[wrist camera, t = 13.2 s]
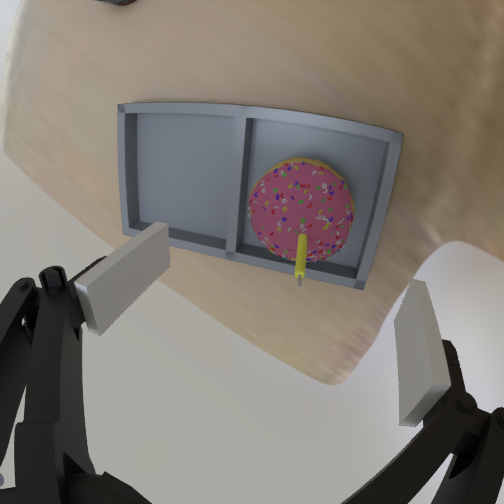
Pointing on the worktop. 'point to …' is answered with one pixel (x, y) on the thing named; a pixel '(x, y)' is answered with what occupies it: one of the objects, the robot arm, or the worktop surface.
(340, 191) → the cupcake
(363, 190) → the grey divided tray
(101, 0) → the supplement bottle
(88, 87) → the worktop surface
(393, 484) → the robot arm
